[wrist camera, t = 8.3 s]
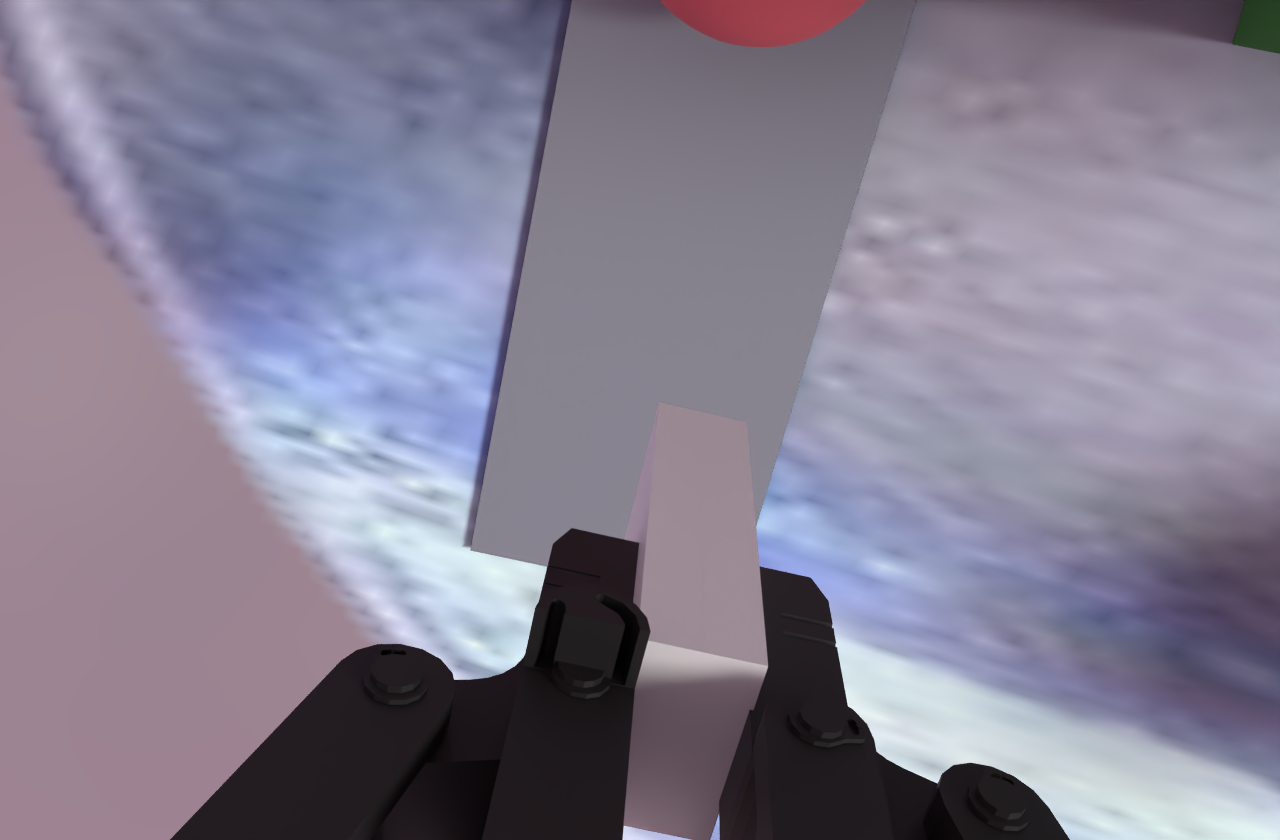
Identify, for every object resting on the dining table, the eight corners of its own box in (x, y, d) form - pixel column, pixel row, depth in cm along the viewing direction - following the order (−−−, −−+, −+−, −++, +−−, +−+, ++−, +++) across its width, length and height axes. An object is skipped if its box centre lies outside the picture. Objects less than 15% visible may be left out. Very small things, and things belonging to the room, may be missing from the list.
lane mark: (693, -654, 22) (693, -660, 21) (1081, -548, 22) (1084, -552, 22) (471, 546, 33) (470, 550, 33) (731, 601, 33) (732, 605, 33)
